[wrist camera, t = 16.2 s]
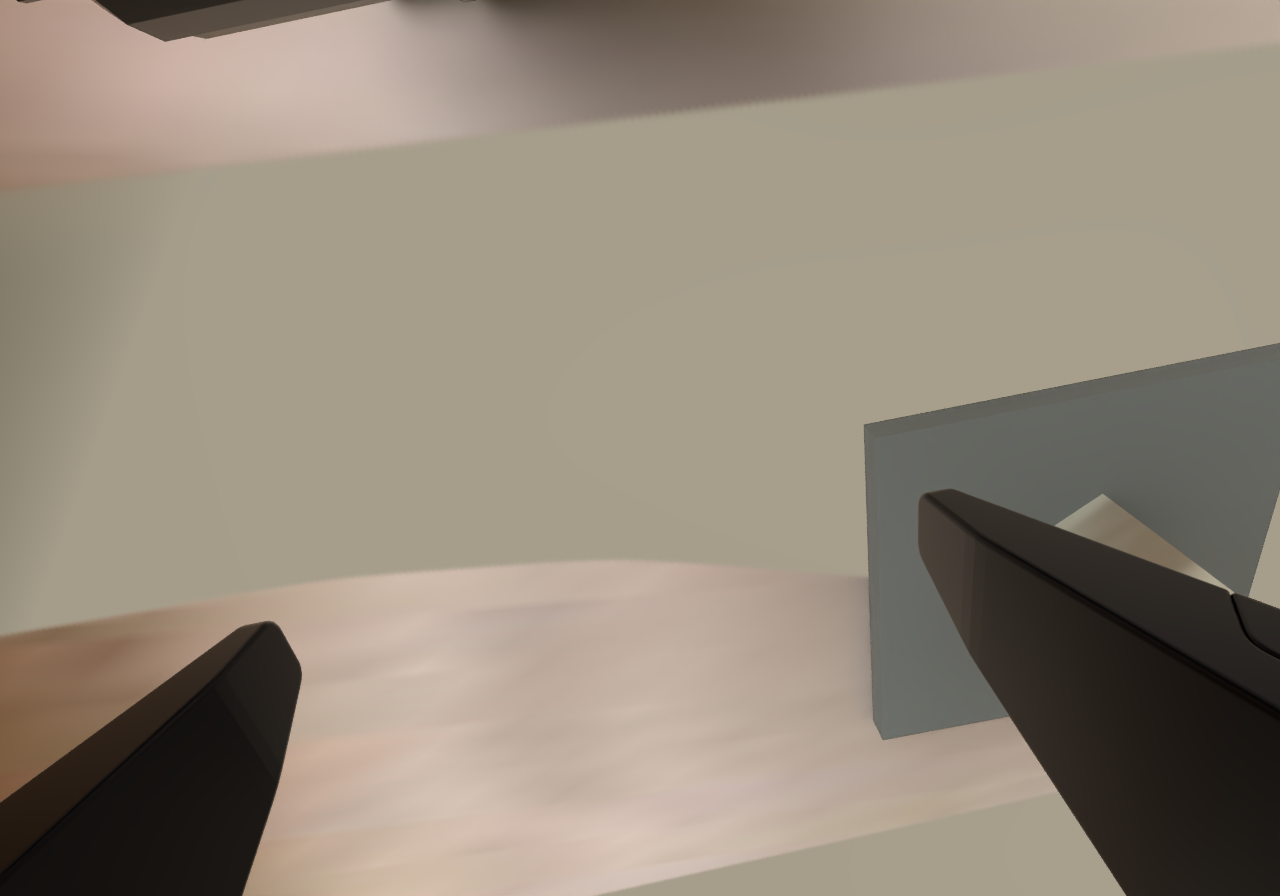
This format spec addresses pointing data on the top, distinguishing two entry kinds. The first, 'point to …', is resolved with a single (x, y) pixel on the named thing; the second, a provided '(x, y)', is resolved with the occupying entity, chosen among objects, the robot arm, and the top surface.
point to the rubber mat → (1064, 499)
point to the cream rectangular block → (1130, 537)
